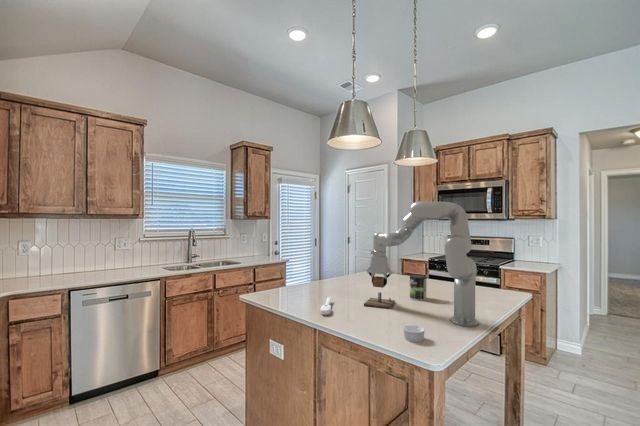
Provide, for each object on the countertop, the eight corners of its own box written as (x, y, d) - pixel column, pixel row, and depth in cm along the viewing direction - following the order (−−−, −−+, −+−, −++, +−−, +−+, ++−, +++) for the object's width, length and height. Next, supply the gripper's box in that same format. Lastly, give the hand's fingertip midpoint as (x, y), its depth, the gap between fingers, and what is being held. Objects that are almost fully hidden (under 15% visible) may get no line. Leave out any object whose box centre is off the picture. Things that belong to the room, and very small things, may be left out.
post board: (390, 309, 177) (390, 297, 178) (363, 306, 183) (363, 294, 183) (395, 302, 191) (395, 291, 191) (370, 299, 197) (370, 288, 197)
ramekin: (415, 344, 129) (415, 333, 129) (398, 337, 136) (398, 327, 136) (429, 339, 134) (429, 329, 134) (411, 333, 141) (411, 323, 141)
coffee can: (417, 301, 194) (417, 278, 194) (406, 297, 203) (406, 275, 203) (430, 299, 198) (430, 276, 198) (418, 295, 208) (418, 273, 208)
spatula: (324, 301, 193) (324, 296, 193) (334, 301, 193) (334, 296, 193) (319, 315, 165) (319, 310, 165) (330, 316, 165) (330, 310, 165)
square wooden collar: (383, 287, 184) (383, 279, 184) (372, 286, 186) (373, 278, 186) (386, 284, 193) (386, 275, 193) (377, 283, 195) (377, 275, 195)
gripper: (363, 253, 188) (363, 284, 188) (393, 255, 181) (392, 287, 181) (367, 252, 194) (366, 281, 195) (395, 254, 188) (395, 284, 188)
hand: (379, 284), depth 188 cm, fingers closed on square wooden collar, 6 cm apart
